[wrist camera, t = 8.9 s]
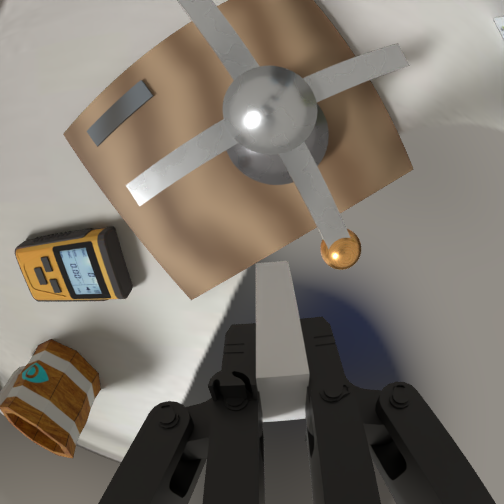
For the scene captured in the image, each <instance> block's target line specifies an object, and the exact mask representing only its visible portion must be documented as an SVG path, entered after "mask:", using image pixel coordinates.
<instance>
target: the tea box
mask: <svg viewBox="0 0 504 504" xmlns="http://www.w3.org/2000/svg"><path fill="white" fill-rule="evenodd" d="M494 21H495V23H496V25H497V27H498V29H499V31H500V33H501V35H502V37H503V39H504V16H500V17H496V18H494Z"/></svg>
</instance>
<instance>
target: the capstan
mask: <svg viewBox="0 0 504 504" xmlns="http://www.w3.org/2000/svg"><path fill="white" fill-rule="evenodd" d="M177 1H178V3H179V4H180V6H181V7H182V8H183V10H184V11H185V12H186V14H187V15H188V16H189V18H190V19H191V20H192V22H193V23H194V24H195V26H196V27H197V28H198V30H199V31H200V33H201V34H202V35H203V37H204V38H205V40H206V41H207V42H208V44H209V45H210V47H211V48H212V49H213V51H214V52H215V54H216V55H217V57H218V58H219V60H220V61H221V63H222V64H223V66H224V67H225V69H226V70H227V72H228V73H229V75H230V76H231V78H232V79H233V82H232V83H231V85H230V86H229V88H228V90H227V91H226V94H225V97H224V101H223V118H224V119H223V120H221V121H220V122H218V123H216V124H214V125H213V126H211V127H210V128H208V129H206V130H205V131H203V132H201V133H200V134H198V135H197V136H195V137H194V138H192V139H190V140H189V141H187V142H186V143H184V144H183V145H181V146H180V147H178V148H177V149H175V150H174V151H172V152H171V153H169V154H168V155H167V156H165V157H164V158H162V159H161V160H159V161H158V162H157V163H155V164H154V165H152V166H151V167H150V168H148V169H147V170H146V171H144V172H143V173H142V174H140V175H139V176H138V177H136V178H135V179H134V180H132V181H131V182H130V183H128V184H127V185H126V187H127V188H128V190H129V191H130V193H131V194H132V196H133V197H134V199H135V200H136V202H137V203H138V205H139V206H141V205H143V204H144V203H145V202H147V201H148V200H150V199H151V198H152V197H154V196H155V195H157V194H158V193H160V192H161V191H163V190H164V189H165V188H167V187H168V186H170V185H171V184H173V183H174V182H176V181H177V180H179V179H180V178H182V177H184V176H185V175H187V174H188V173H190V172H191V171H193V170H194V169H196V168H198V167H199V166H201V165H202V164H204V163H206V162H207V161H209V160H211V159H212V158H214V157H215V156H217V155H219V154H220V153H222V152H224V151H227V153H228V155H229V157H230V159H231V161H232V162H233V164H234V165H235V166H236V167H237V168H238V169H239V170H240V171H241V172H242V173H243V174H244V175H246V176H248V177H249V178H251V179H253V180H255V181H258V182H261V183H264V184H269V185H284V184H290V183H293V182H294V184H295V186H296V188H297V189H298V191H299V193H300V195H301V197H302V199H303V201H304V203H305V205H306V207H307V208H308V210H309V212H310V214H311V216H312V218H313V220H314V222H315V224H316V226H317V228H318V230H319V232H320V234H321V236H322V238H323V240H322V243H321V255H322V258H323V260H324V261H325V262H326V263H327V264H328V265H329V266H330V267H332V268H334V269H339V270H343V269H347V268H350V267H352V266H353V265H354V264H355V263H356V262H357V261H358V259H359V257H360V254H361V243H360V240H359V238H358V237H357V235H356V234H355V233H354V232H352V231H351V230H349V229H347V228H346V226H345V224H344V222H343V219H342V217H341V215H340V213H339V210H338V208H337V206H336V204H335V202H334V200H333V197H332V195H331V193H330V191H329V189H328V187H327V185H326V183H325V181H324V179H323V177H322V175H321V173H320V171H319V169H318V167H317V166H318V165H319V163H320V162H321V161H322V159H323V157H324V155H325V152H326V150H327V146H328V139H329V131H328V124H327V121H326V118H325V115H324V113H323V111H322V110H321V108H320V106H319V105H318V104H317V102H319V101H321V100H323V99H326V98H328V97H330V96H332V95H335V94H337V93H339V92H342V91H344V90H346V89H349V88H351V87H354V86H356V85H358V84H361V83H363V82H366V81H368V80H371V79H374V78H376V77H379V76H382V75H384V74H387V73H390V72H393V71H395V70H398V69H401V68H404V67H407V66H410V65H409V63H408V61H407V59H406V57H405V56H404V54H403V52H402V50H401V48H400V46H399V45H398V43H397V44H394V45H390V46H387V47H384V48H381V49H377V50H374V51H371V52H368V53H365V54H362V55H360V56H357V57H354V58H351V59H349V60H346V61H343V62H341V63H338V64H335V65H333V66H330V67H328V68H325V69H323V70H321V71H318V72H316V73H314V74H311V75H309V76H307V77H304V78H302V77H300V76H299V75H298V74H296V73H295V72H293V71H291V70H289V69H286V68H283V67H279V66H259V65H258V63H257V62H256V60H255V59H254V57H253V56H252V54H251V53H250V51H249V50H248V48H247V47H246V46H245V44H244V43H243V41H242V40H241V38H240V37H239V36H238V34H237V33H236V31H235V30H234V29H233V27H232V26H231V25H230V23H229V22H228V21H227V19H226V18H225V17H224V15H223V14H222V13H221V11H220V10H219V9H218V8H217V6H216V5H215V4H214V2H213V1H212V0H177Z"/></svg>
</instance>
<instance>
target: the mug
mask: <svg viewBox="0 0 504 504" xmlns="http://www.w3.org/2000/svg"><path fill="white" fill-rule="evenodd" d="M100 390H101V388H100V381H99V374H98V372H97V371H96V370H95V369H94V368H93V367H92V366H91V365H90V364H89V363H88V362H87V361H86V360H85V359H84V358H83V357H82V356H81V355H80V354H79V353H78V352H77V351H76V350H73V349H71V348H69V347H67V346H64V345H62V344H60V343H58V342H56V341H54V340H52V339H50V340H48V341H46V342H44V343H42V344H40V345H38V347H37V349H36V351H35V353H34V355H33V357H32V358H31V360H30V361H29V363H28V364H27V365H26V366H23V367H19V368H18V369H17V370H16V371H15V372H14V373H13V374H12V376H11V377H10V379H9V380H8V382H7V383H6V385H5V386H4V388H3V389H2V390H1V392H0V412H1V413H2V414H3V415H5V417H6V418H7V420H8V421H9V422H10V423H11V424H12V425H13V426H14V427H16V428H17V429H18V430H19V431H20V432H21V433H23V434H24V435H25V436H26V437H28V438H29V439H30V440H32V441H33V442H34V443H36V444H38V445H40V446H41V447H43V448H45V449H47V450H49V451H51V452H52V453H54V454H56V455H58V456H63V457H68V458H73V457H74V451H75V447H76V444H77V441H78V438H79V436H80V434H81V432H82V430H83V428H84V426H85V424H86V422H87V419H88V416H89V412H90V409H91V407H92V404H93V402H94V400H95V398H96V396H97V395H98V393H99V391H100Z"/></svg>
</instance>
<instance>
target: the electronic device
mask: <svg viewBox="0 0 504 504" xmlns="http://www.w3.org/2000/svg"><path fill="white" fill-rule="evenodd" d="M15 256H16V259H17V261H18V264H19V266H20V269H21V271H22V274H23V276H24V279H25V281H26V283H27V285H28V288H29V290H30V292H31V294H32V296H33V298H34V299H35V300H36V301H105V300H108V299H126V298H127V297H128V295H129V293H130V292H131V290H132V287H133V286H132V283H131V280H130V277H129V274H128V270H127V267H126V264H125V261H124V258H123V254H122V251H121V248H120V244H119V241H118V237H117V233H116V230H115V228H114V227H107V228H102V229H96V230H92V229H86V230H80V231H74V232H71V231H69V232H68V233H67V232H65V233H60V234H55V235H54V234H52V235H51V236H50V235H48V236H44V237H40V238H38V237H37V238H36V239H32V240H27V241H24V242H23V243H21V244H20V245H19V246H17V247H16V249H15Z"/></svg>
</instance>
